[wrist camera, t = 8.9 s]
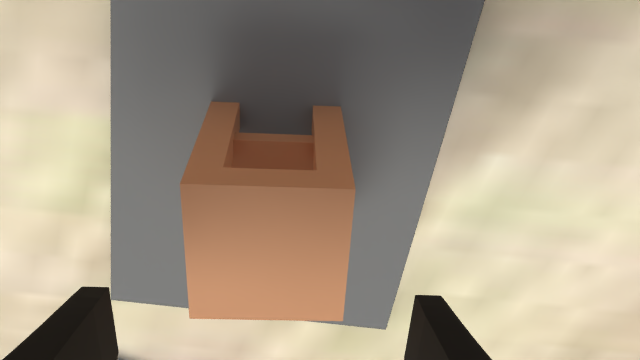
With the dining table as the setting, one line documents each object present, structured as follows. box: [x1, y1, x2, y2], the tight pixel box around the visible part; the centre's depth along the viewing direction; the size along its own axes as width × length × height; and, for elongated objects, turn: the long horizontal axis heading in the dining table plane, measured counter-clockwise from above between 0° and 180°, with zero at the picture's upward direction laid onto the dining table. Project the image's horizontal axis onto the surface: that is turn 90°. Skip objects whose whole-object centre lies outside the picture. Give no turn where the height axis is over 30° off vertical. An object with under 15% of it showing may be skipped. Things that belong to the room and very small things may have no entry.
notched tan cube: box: [180, 102, 356, 321], centre depth 19 cm, size 5×5×6 cm
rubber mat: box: [111, 0, 485, 330], centre depth 22 cm, size 12×15×1 cm
